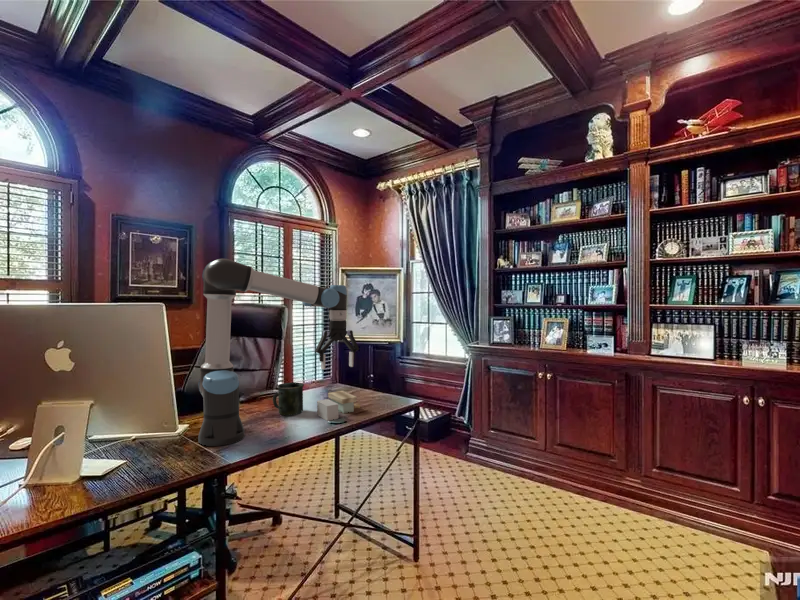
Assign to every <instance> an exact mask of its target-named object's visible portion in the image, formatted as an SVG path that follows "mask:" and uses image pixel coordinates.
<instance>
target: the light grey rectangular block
mask: <svg viewBox="0 0 800 600" xmlns="http://www.w3.org/2000/svg"><path fill="white" fill-rule="evenodd" d="M316 402H317V404H316V409H317V410H316V411H317V412H316V413H317V414H316V415H317V416H318V417H320V418H322V419H323V420H325V421H327V422H329V421H333V419H334V420H337V419H339V411H338V404H337V403H335V402H333V401H331V400H330V398H327V399H326V398H325V399H321V400H317V401H316ZM328 420H329V421H328Z"/></svg>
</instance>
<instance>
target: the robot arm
mask: <svg viewBox="0 0 800 600" xmlns="http://www.w3.org/2000/svg"><path fill="white" fill-rule="evenodd" d="M202 281H203V289H202V291H203V293H202V295H203V296H204V297H205V298H206V300H207V302H206V303H207V304H206V305H207V306H206V330H205V334H206V335H205V358H204V362H203V364H201V366H200V372H199V373H200V375H199V376H200V377H199V380H198V384H197V385H198V391H199V393H200V394H201V396H202V398H203V399H202V400H203V401H202V402H203V421H202V424H201V426H200V430H199V433H198V438H197V439H198V440H197V441H198V444H199V443H200V444H199V445H201V444H202V445H201V446H204V445H206V446H205V447H218V446H219V447H221V446H227V445H231V444H235V443H237V442H240V441H241V440H243V439H244V438H245V436H246V435H245V434H246V433H245V428H244V427H245V426H244V425H243V422H242V419H241V416H240V391H239V390H240V379H239V374H238V373H237V372H235V371H234V364H233V363H232V362H231V361H230V360H231V359H230V354H231V353H230V352H231V326H232V325H231V323H232V302H233V300H234V298H236V296H237V291H239V292H244V293H246V292H248V291H252V292H256V293H261V294H266V295H270V296H274V297H277V298H278V297H279V298H283V299H288V300H292V301H297V302H302V304H303V306H305V307H311V308H313V307H320V308H329V318H328V319H329V324H328V325H329V326H328V328H329V331H326V330H323V331H322V335H321V337H320V340H319V341H318V344H317V346H316V348H315V351H314V352H315V353H317V354H318V356H319V358H318V359H319V362H320V368H321V369H322V370H326V354H325V352H326V351H327V350H328V348H329V347H330V345H332V343H333V342H338V341H339V342H343V343H344V344H345V346H346V347H347V348H348V349H349V350H350V351H349V352H348V353H349V354H348V367H350V368H353V367H354V360H355V359H356V353H357V351H359V350H360V347H359V345H358V344H357V343H358V342H357V341H356V338H355V335H354V331H353V330H352V329H348V330H347V316H348V315H347V313H348V312H347V306H348V305H347V304H348V300H347V299H348V290H347V289H348V288H347V286H346V285H342V284H331V285H329V287H328V288H326V287H322V286H318V285H315V284H312V283H306V282H303V281H298V280H294V279H290V278H287V277H282V276H279V275H274V274H271V273H266V272H263V271H259V270H256V269H254V268H253V266H249V265H246V264H243V263H239V262H237V261H235V260H232V259H229V258H218V259H215V260H213V261H210V262H209V263H208V264H206V266H205V267H204V269H203V270H202ZM328 336H329V337H328ZM347 336H348V338H349V340H350V341H349V340H348V338H347ZM327 338H328V339H327Z"/></svg>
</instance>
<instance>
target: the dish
mask: <svg viewBox="0 0 800 600" xmlns="http://www.w3.org/2000/svg"><path fill="white" fill-rule="evenodd" d="M330 399H331V398H330ZM331 401H333V402H335V403H337V404H338V412H339V413H341V412H342V414H347V413H348V412H349V413H354V410H355V407H354V403H355V402H351V403H345V404H341V403H339V402H337V401H335V400H333V399H331Z"/></svg>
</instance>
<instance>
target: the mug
mask: <svg viewBox="0 0 800 600" xmlns="http://www.w3.org/2000/svg"><path fill="white" fill-rule="evenodd" d="M277 388H278V389H277V390H278V391H277V392H276V393H274V394H273V396H272V404H273V406H274V407H275V408H276V409H278V414H279V415H281V416H296V415H300V414H302V413H303V410H304V383H302V382H285V383H281V384H278V385H277ZM277 397H278V402H277Z"/></svg>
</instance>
